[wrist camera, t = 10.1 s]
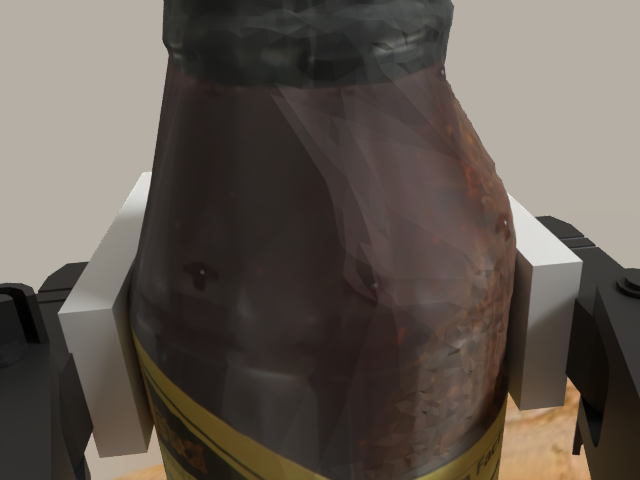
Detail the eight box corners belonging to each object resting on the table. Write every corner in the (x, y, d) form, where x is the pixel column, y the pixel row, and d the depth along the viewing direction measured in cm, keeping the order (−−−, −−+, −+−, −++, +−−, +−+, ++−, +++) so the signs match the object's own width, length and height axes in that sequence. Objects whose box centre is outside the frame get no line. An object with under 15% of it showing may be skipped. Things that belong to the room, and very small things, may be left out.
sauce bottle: (216, 600, 17) (35, -252, 9) (418, 546, 18) (419, -254, 10) (241, 916, 11) (-208, -677, 3) (534, 809, 13) (759, -570, 4)
